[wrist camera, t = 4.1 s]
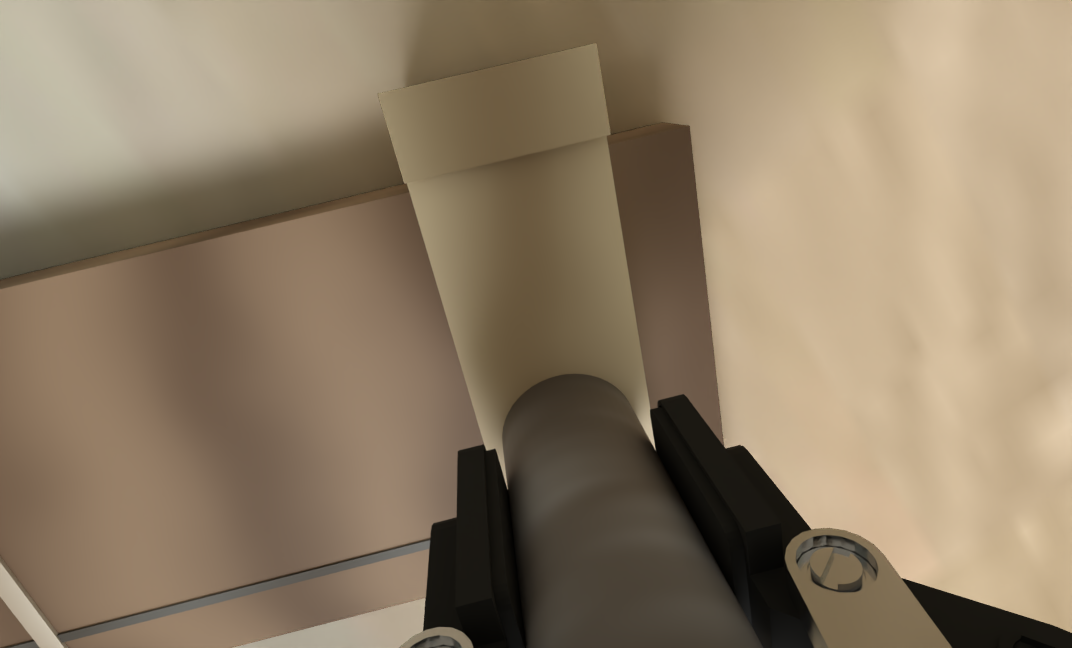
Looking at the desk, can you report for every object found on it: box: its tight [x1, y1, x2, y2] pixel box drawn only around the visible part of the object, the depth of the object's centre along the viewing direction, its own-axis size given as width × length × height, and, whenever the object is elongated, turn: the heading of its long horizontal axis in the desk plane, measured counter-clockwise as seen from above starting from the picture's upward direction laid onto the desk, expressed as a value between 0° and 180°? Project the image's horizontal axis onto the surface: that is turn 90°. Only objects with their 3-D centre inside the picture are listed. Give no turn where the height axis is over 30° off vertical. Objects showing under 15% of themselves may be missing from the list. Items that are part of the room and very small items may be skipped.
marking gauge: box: [378, 43, 763, 648], centre depth 12 cm, size 4×15×12 cm, turn 12°
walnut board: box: [0, 123, 724, 648], centre depth 16 cm, size 25×12×2 cm, turn 102°
